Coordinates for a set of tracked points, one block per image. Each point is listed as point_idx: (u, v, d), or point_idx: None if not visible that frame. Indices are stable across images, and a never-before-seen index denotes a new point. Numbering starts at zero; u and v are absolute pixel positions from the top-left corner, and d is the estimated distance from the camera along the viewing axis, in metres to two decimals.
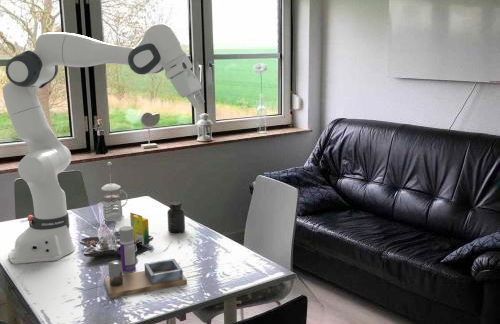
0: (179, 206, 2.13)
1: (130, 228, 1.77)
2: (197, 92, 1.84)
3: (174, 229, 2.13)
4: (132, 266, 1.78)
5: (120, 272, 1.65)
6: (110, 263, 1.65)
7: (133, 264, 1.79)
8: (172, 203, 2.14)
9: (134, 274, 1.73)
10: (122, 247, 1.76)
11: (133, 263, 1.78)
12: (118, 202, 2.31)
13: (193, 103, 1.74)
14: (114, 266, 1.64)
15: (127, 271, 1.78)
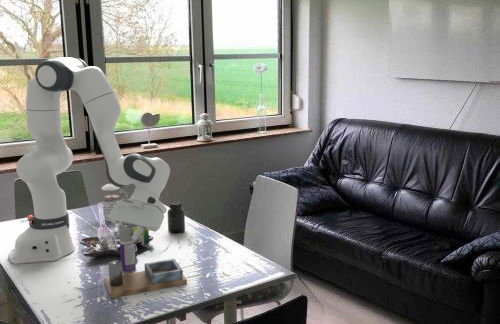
0: (179, 206, 2.13)
1: (130, 228, 1.77)
2: (123, 225, 1.81)
3: (174, 229, 2.13)
4: (132, 266, 1.78)
5: (120, 272, 1.65)
6: (110, 263, 1.65)
7: (133, 264, 1.79)
8: (172, 203, 2.14)
9: (134, 274, 1.73)
10: (122, 247, 1.76)
11: (133, 263, 1.78)
12: None
13: (135, 235, 1.76)
14: (114, 266, 1.64)
15: (127, 271, 1.78)
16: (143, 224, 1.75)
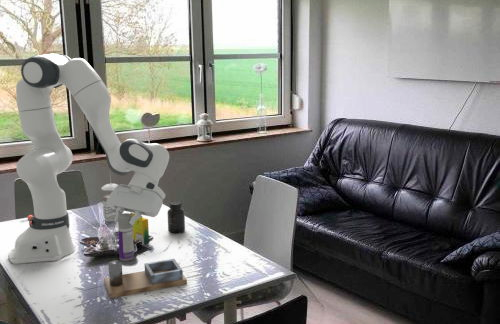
0: (179, 206, 2.13)
1: (129, 215, 1.76)
2: (122, 210, 1.79)
3: (174, 229, 2.13)
4: (130, 254, 1.77)
5: (120, 272, 1.65)
6: (110, 263, 1.65)
7: (131, 251, 1.78)
8: (172, 203, 2.14)
9: (134, 274, 1.73)
10: (120, 234, 1.75)
11: (131, 250, 1.78)
12: None
13: (133, 220, 1.75)
14: (114, 266, 1.64)
15: (125, 258, 1.77)
16: (141, 209, 1.74)
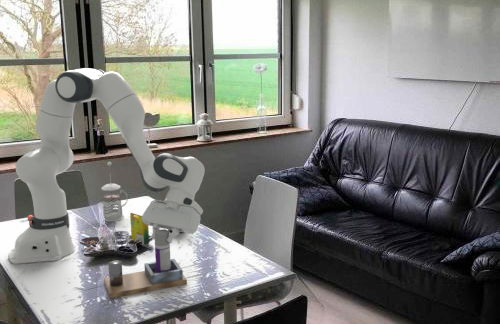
0: None
1: (166, 231, 1.69)
2: (158, 227, 1.73)
3: None
4: None
5: (120, 272, 1.65)
6: (110, 263, 1.65)
7: (169, 269, 1.71)
8: None
9: (134, 274, 1.73)
10: (157, 252, 1.69)
11: (169, 268, 1.71)
12: (118, 202, 2.31)
13: (171, 237, 1.68)
14: (114, 266, 1.64)
15: None
16: (179, 226, 1.67)
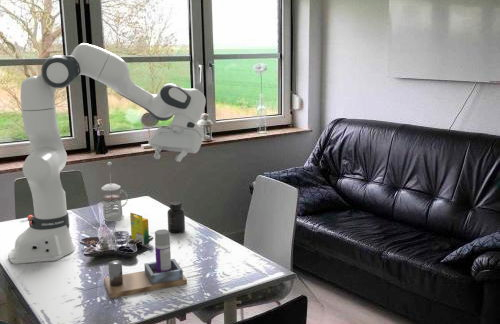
0: (179, 206, 2.13)
1: (166, 232, 1.69)
2: (160, 149, 1.94)
3: (174, 229, 2.13)
4: None
5: (120, 272, 1.65)
6: (110, 263, 1.65)
7: (169, 269, 1.71)
8: (172, 203, 2.14)
9: (134, 274, 1.73)
10: (158, 252, 1.69)
11: (169, 268, 1.71)
12: (118, 202, 2.31)
13: (180, 156, 1.88)
14: (114, 266, 1.64)
15: None
16: (183, 146, 1.88)
